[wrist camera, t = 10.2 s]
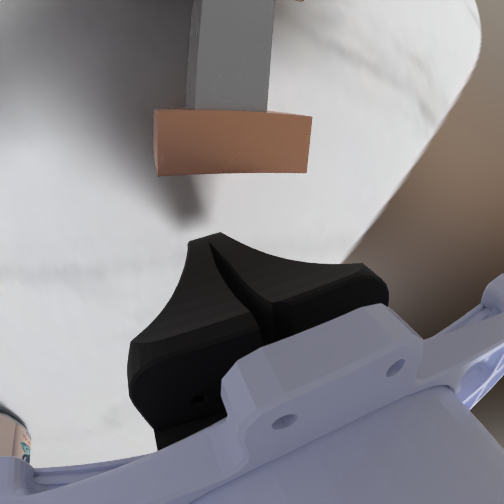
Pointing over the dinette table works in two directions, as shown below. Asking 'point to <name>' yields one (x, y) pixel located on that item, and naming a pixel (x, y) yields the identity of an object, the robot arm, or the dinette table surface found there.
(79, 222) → the dinette table surface
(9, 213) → the dinette table surface
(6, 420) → the beer can
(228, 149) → the shaft
